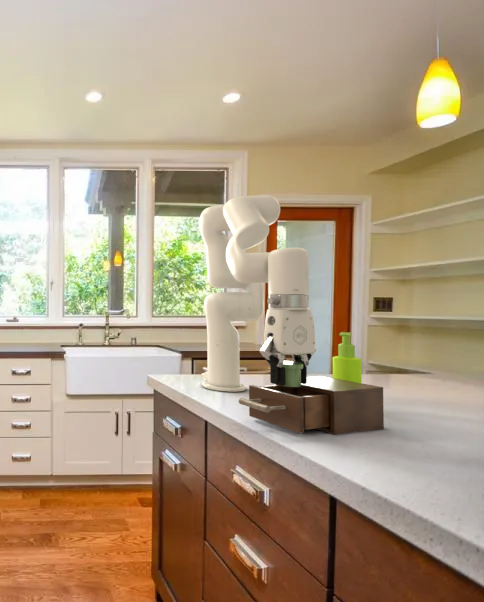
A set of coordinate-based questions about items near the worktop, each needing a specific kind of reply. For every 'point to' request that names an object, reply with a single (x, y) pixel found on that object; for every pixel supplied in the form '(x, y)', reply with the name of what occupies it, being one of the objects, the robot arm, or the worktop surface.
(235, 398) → the worktop surface
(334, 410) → the cabinet
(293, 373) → the pot
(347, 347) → the soap dispenser
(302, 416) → the drawer
